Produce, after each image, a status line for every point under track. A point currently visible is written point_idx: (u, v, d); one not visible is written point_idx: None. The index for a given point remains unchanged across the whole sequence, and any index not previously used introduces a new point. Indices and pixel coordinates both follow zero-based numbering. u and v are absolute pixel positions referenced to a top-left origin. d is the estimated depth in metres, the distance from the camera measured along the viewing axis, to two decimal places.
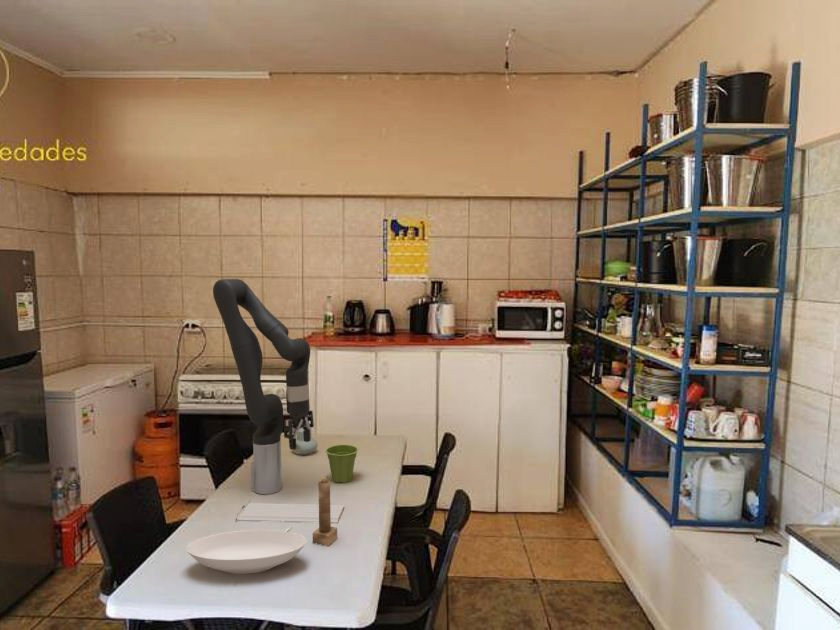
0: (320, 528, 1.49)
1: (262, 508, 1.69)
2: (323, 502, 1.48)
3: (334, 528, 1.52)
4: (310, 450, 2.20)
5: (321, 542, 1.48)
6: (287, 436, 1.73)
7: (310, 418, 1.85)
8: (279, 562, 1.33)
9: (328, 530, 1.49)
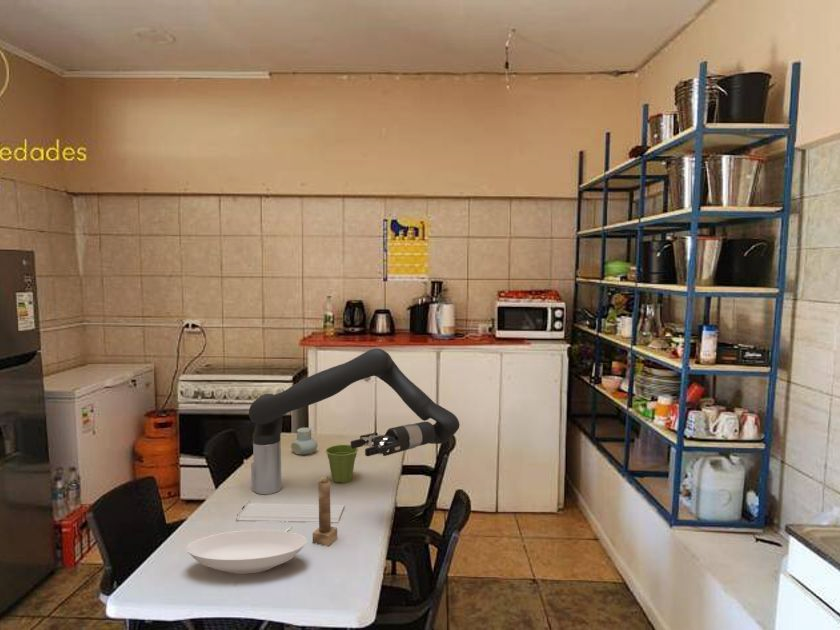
0: (320, 528, 1.49)
1: (262, 508, 1.69)
2: (323, 502, 1.48)
3: (334, 528, 1.52)
4: (310, 450, 2.20)
5: (321, 542, 1.48)
6: (386, 451, 1.53)
7: None
8: (279, 562, 1.33)
9: (328, 530, 1.49)
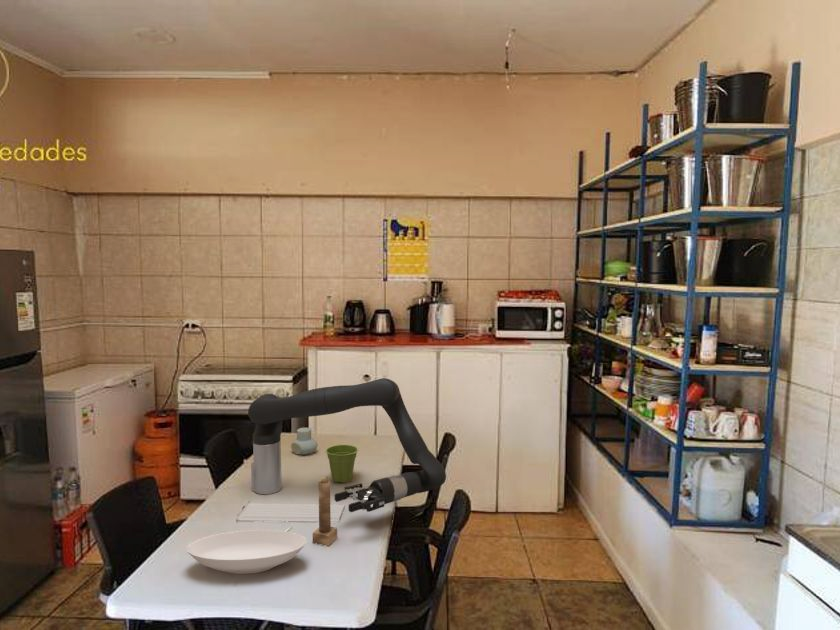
0: (320, 528, 1.49)
1: (262, 508, 1.69)
2: (323, 502, 1.48)
3: (334, 528, 1.52)
4: (310, 450, 2.20)
5: (321, 542, 1.48)
6: (369, 507, 1.51)
7: None
8: (279, 562, 1.33)
9: (328, 530, 1.49)
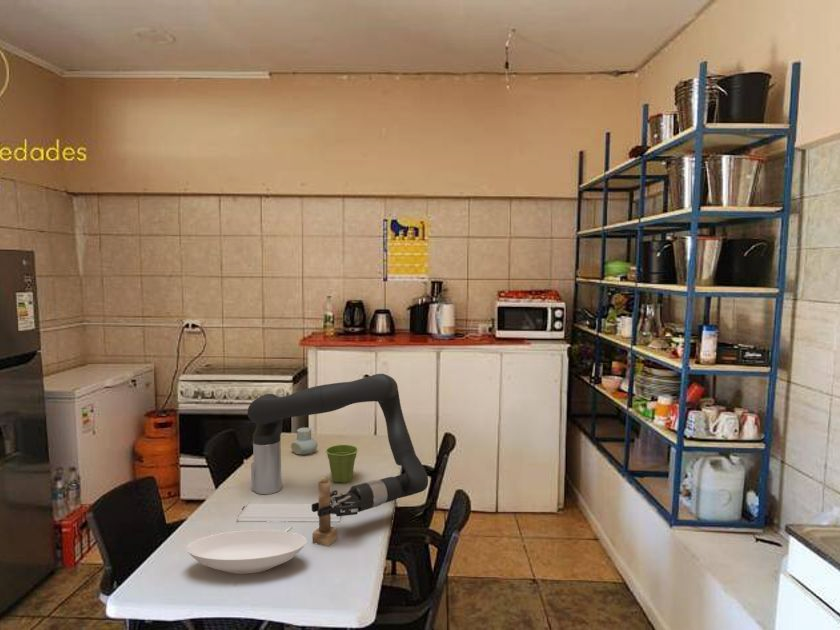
0: (320, 528, 1.49)
1: (262, 509, 1.69)
2: (323, 502, 1.48)
3: (334, 528, 1.52)
4: (310, 450, 2.20)
5: (321, 542, 1.48)
6: (339, 511, 1.48)
7: None
8: (279, 562, 1.33)
9: (328, 530, 1.49)
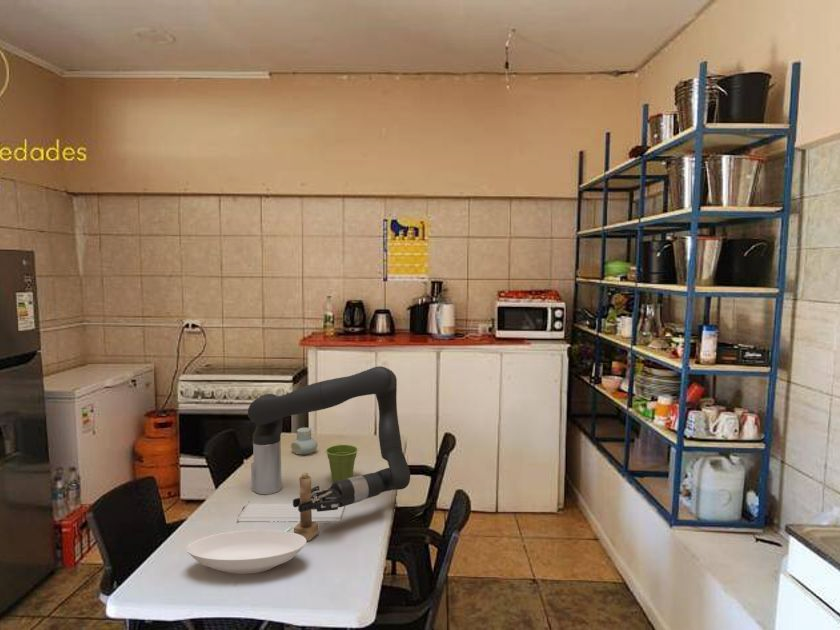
0: (301, 523, 1.51)
1: (262, 509, 1.69)
2: (303, 498, 1.50)
3: (315, 523, 1.54)
4: (310, 450, 2.20)
5: None
6: (319, 507, 1.50)
7: None
8: (279, 562, 1.33)
9: (309, 525, 1.52)
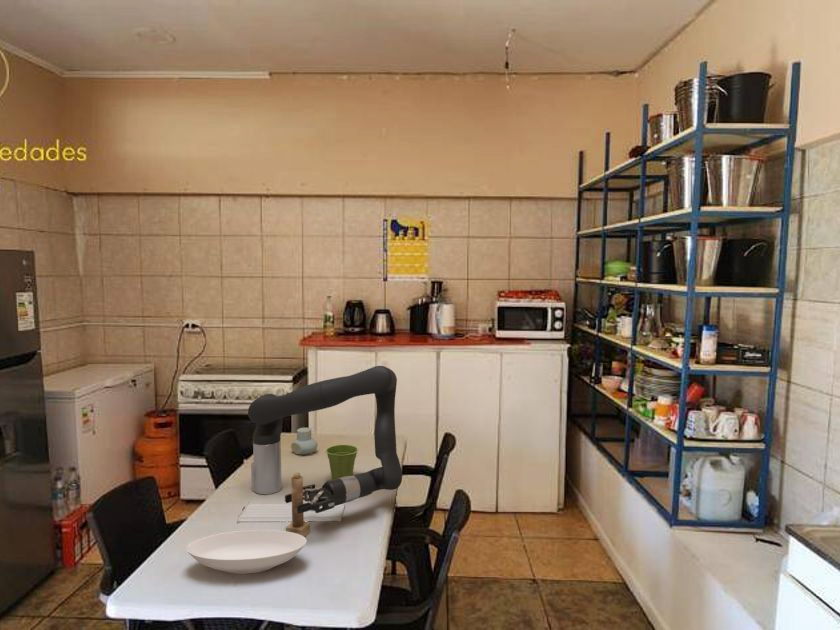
0: (293, 523, 1.52)
1: (262, 509, 1.69)
2: (295, 498, 1.51)
3: (307, 523, 1.55)
4: (310, 450, 2.20)
5: None
6: (318, 508, 1.49)
7: (307, 493, 1.61)
8: (279, 562, 1.33)
9: (301, 525, 1.53)
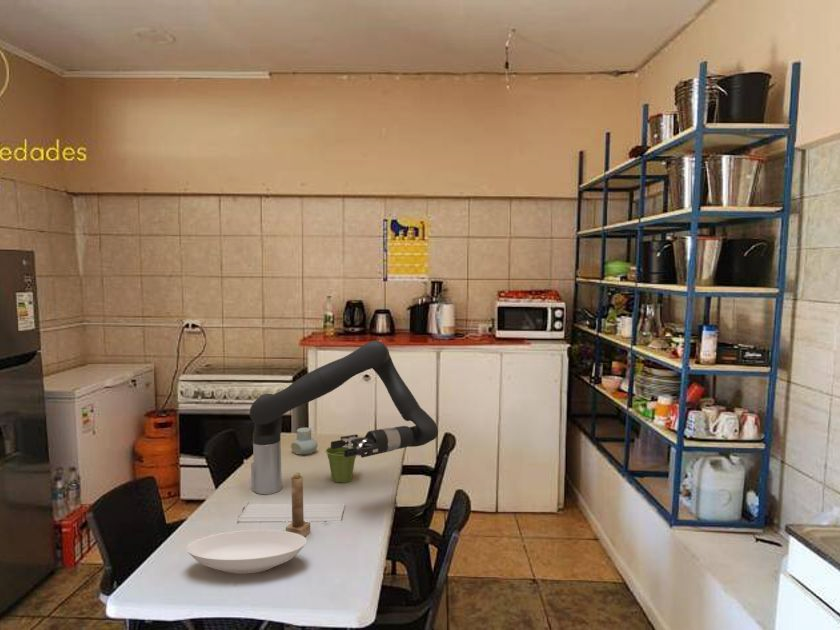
0: (293, 523, 1.52)
1: (262, 509, 1.68)
2: (295, 498, 1.51)
3: (307, 523, 1.55)
4: (310, 450, 2.20)
5: None
6: (364, 453, 1.59)
7: (350, 442, 1.71)
8: (279, 562, 1.33)
9: (301, 525, 1.53)
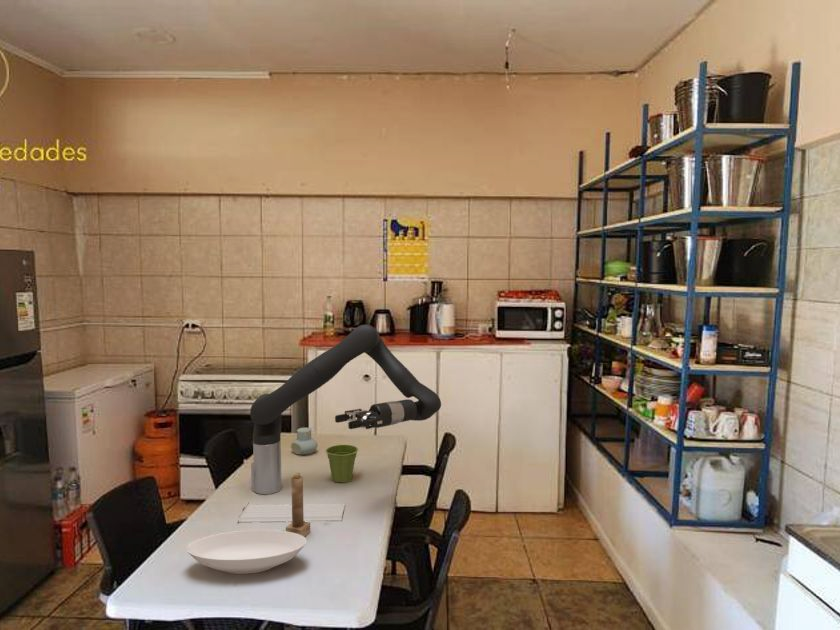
0: (293, 523, 1.52)
1: (263, 509, 1.68)
2: (295, 498, 1.51)
3: (307, 523, 1.55)
4: (310, 450, 2.20)
5: None
6: (368, 424, 1.60)
7: None
8: (279, 562, 1.33)
9: (301, 525, 1.53)
